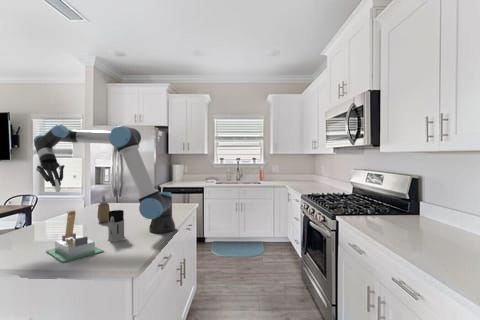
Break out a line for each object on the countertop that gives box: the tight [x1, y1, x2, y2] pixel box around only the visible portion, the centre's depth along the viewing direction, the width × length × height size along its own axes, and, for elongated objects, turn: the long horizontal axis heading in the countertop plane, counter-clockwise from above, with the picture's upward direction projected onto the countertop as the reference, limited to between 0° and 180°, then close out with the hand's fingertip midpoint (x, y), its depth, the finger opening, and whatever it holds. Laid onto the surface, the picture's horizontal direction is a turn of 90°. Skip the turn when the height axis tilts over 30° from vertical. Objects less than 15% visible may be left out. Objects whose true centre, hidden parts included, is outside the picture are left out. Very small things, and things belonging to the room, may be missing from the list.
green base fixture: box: [45, 232, 105, 264], centre depth 130 cm, size 22×17×8 cm
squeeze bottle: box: [96, 195, 111, 223], centre depth 190 cm, size 8×8×18 cm
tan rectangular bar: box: [64, 210, 77, 239], centre depth 133 cm, size 14×3×2 cm
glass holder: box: [107, 209, 126, 242], centre depth 147 cm, size 9×14×15 cm, turn 10°
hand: (58, 190), depth 142 cm, fingers closed
